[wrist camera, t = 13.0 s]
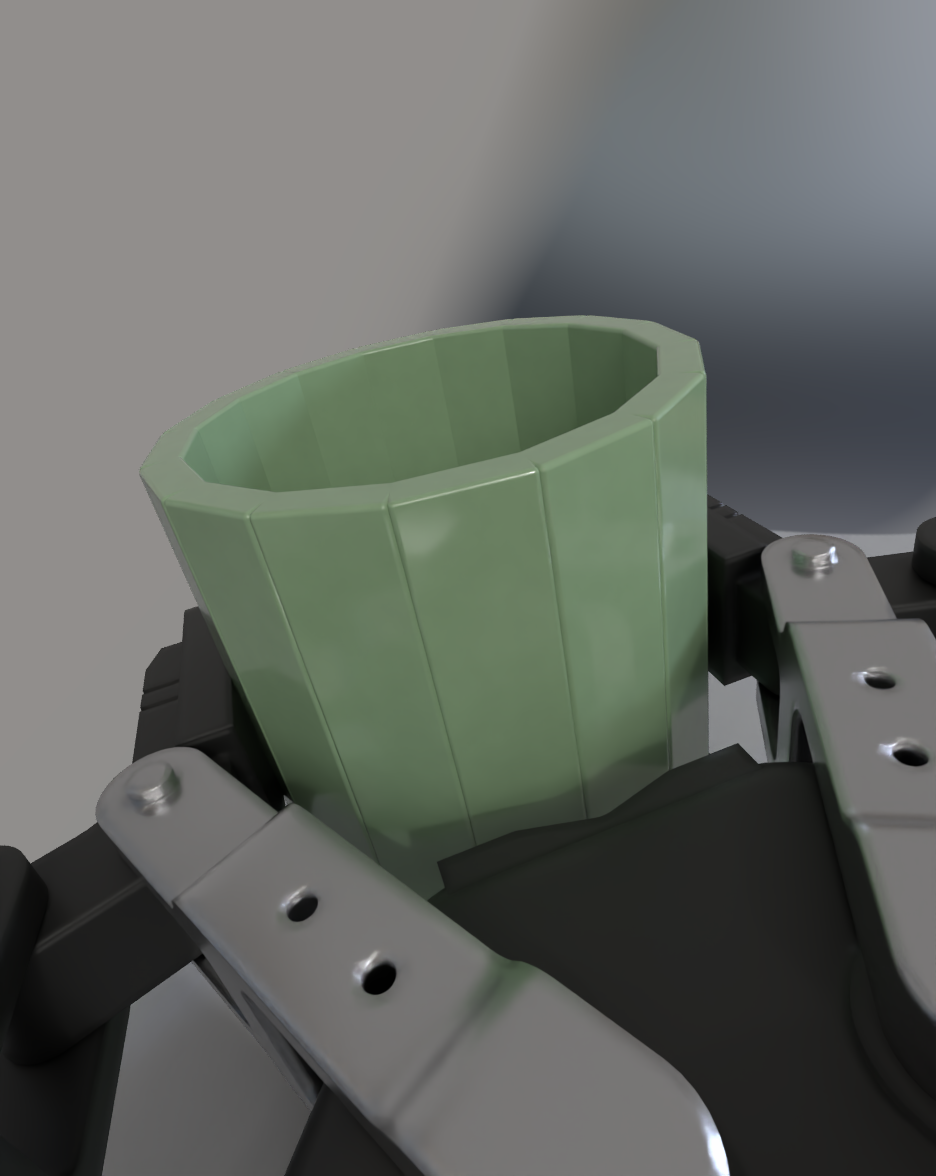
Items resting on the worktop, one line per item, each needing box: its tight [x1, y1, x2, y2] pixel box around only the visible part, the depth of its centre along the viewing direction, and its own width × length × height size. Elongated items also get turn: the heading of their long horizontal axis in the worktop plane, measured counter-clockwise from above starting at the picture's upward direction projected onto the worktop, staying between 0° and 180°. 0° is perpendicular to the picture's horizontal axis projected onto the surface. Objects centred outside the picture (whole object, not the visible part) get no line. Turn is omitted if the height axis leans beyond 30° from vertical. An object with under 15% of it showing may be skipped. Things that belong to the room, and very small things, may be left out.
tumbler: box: [139, 315, 709, 901], centre depth 11 cm, size 7×7×10 cm
